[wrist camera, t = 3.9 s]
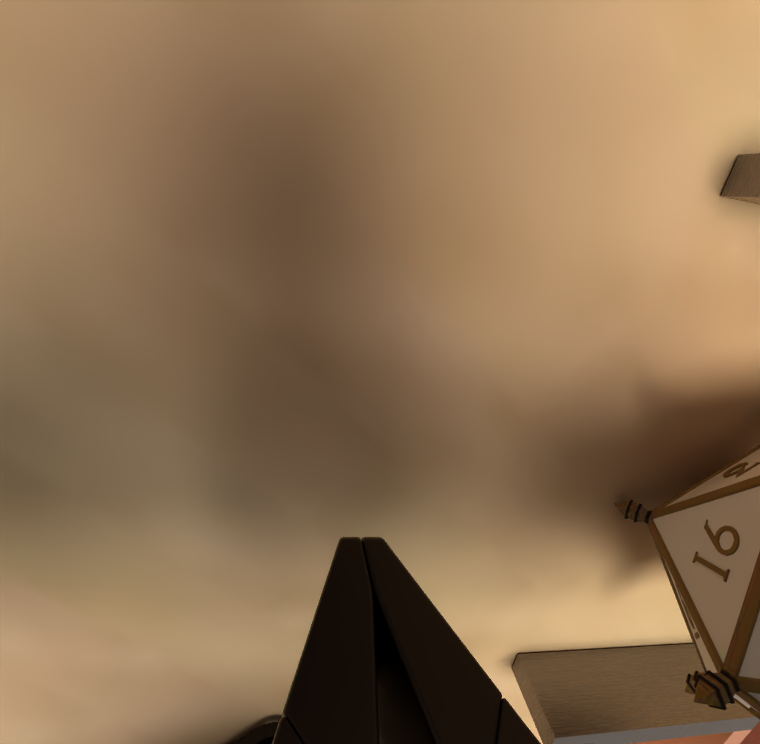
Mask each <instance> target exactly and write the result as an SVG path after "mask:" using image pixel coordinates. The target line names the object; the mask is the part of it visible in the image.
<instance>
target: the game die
mask: <svg viewBox="0 0 760 744" xmlns="http://www.w3.org/2000/svg"><path fill="white" fill-rule="evenodd" d="M614 504H615V505H616V506H617V507H618V509H619V510H620V511H621V512H622V513H623V515H624V516H625V519H627V518H630V519H633V520H634V522H637V521H642V522H646V523H647V524H648V526H649V528H650V531H651V534H652V536H653V539H654V542H655V544H656V547H657V549H658V552H659V555H660V557H661V560H662V562H663V565H664V568H665V570H666V573H667V576H668V578H669V581H670V583H671V586H672V589H673V591H674V594H675V597H676V599H677V602H678V604H679V607H680V610H681V612H682V615H683V617H684V620H685V623H686V625H687V628H688V631H689V633H690V636H691V638H692V641H693V644H694V646H695V649H696V651H697V654H698V657H699V659H700V662H701V665H702V667H703V670H704V672H701V673H699V672H698V671H695V672H694V674H693V675H691V674H688V675H687V679H686V683H687V686H686V689H685V693H689V694H694V695H695V698H694V702H695V703H701V704H707V705H709V707H712V708H716V709H721V710H726V709H727V708H726V704H727V703H731V704H734V703H735V702H737V703H738V704H739V705H741V706H742V707H743V708H745V709H746V710H747V711H749V712H750V713H751V714H753V715H754V716H755V717H757V718H758V719H759V720H760V445H759V446H757V447H756V448H754V449H753V450H751V451H749V452H748V453H746V454H744V455H743V456H741V457H739V458H738V459H736V460H735V461H733V462H731V463H730V464H728V465H726V466H725V467H723V468H722V469H720V470H718V471H717V472H715V473H713V474H712V475H710V476H709V477H707V478H705V479H704V480H702V481H700V482H699V483H697V484H695V485H694V486H692V487H691V488H689V489H687V490H686V491H684V492H682V493H681V494H679V495H678V496H676V497H674V498H673V499H671V500H669V501H668V502H666V503H665V504H663V505H661V506H660V507H658V508H656V509H655V510H653V511H648V510H646V509H645V508H643V507H642V504H639V505H638V504H636V503H633V500H630V501H628V502H620V503H614Z"/></svg>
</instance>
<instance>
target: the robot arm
mask: <svg viewBox="0 0 760 744" xmlns="http://www.w3.org/2000/svg"><path fill="white" fill-rule="evenodd" d="M234 744H541V743H540V742H539V741H538V740H537V738H536V737H535V736H534V735H533V733H532V732H531V731H530V730H529V728H528V727H527V726H526V725H525V723H524V722H523V721H522V719H521V718H520V717H519V716H518V714H517V713H516V712H515V710H514V709H513V708H512V706H511V705H510V704H509V702H508V701H507V700H506V699H505V698H503V699H502V694H501V692H500V691H499V690H498V688H497V687H496V686H495V684H494V683H493V682H492V680H491V679H490V678H489V677H488V675H487V674H486V673H485V671H484V670H483V669H482V667H481V666H480V665H479V663H478V662H477V661H476V660H475V658H474V657H473V656H472V654H471V653H470V652H469V650H468V649H467V648H466V646H465V645H464V644H463V642H462V641H461V640H460V639H459V637H458V636H457V635H456V633H455V632H454V631H453V629H452V628H451V627H450V625H449V624H448V623H447V622H446V620H445V619H444V618H443V616H442V615H441V614H440V612H439V611H438V610H437V608H436V607H435V606H434V605H433V603H432V602H431V601H430V599H429V598H428V597H427V595H426V594H425V593H424V591H423V590H422V589H421V588H420V586H419V585H418V584H417V582H416V581H415V580H414V578H413V577H412V576H411V574H410V573H409V572H408V571H407V569H406V568H405V567H404V565H403V564H402V563H401V561H400V560H399V559H398V557H397V556H396V555H395V553H394V552H393V551H392V550H391V548H390V547H389V546H388V544H387V543H386V542H385V540H384V539H382V538H381V537H364V538H362V539H360V538H359V537H342V538H340V540H339V542H338V545H337V548H336V551H335V554H334V557H333V560H332V563H331V567H330V570H329V573H328V576H327V579H326V582H325V585H324V588H323V591H322V594H321V597H320V600H319V603H318V606H317V609H316V612H315V615H314V618H313V621H312V624H311V627H310V630H309V633H308V637H307V640H306V643H305V646H304V649H303V652H302V655H301V658H300V661H299V664H298V667H297V670H296V673H295V676H294V679H293V682H292V685H291V688H290V691H289V694H288V697H287V700H286V703H285V706H284V710H283V713H282V718H281V719H280V721H279V722H272V723H268V724H265V725H263V726H261V727H260V728H258V729H257V730H255V731H253V732H252V733H250V734H249V735H247V736H245V737H244V738H242V739H240V740H239V741H237V742H236V743H234Z"/></svg>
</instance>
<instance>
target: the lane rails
mask: <svg viewBox="0 0 760 744" xmlns="http://www.w3.org/2000/svg"><path fill="white" fill-rule="evenodd" d="M721 196H723V197H728V198H733V199H737V200H742V201H747V202H751V203H756V204H760V154H744V155H739V156H738V158H737V161H736V163H735V165H734V167H733V170H732V172H731V174H730V177H729V179H728V181H727V183H726V186H725V188H724V190H723V192H722V195H721ZM512 670H513V673H514V675H515V678H516V680H517V682H518V685H519V687H520V689H521V692H522V694H523V697H524V699H525V701H526V704H527V706H528V709H529V711H530V713H531V716H532V718H533V721H534V723H535V725H536V728H537V730H538V733H539V735H540V737H541V740H542V742H543V744H630V743H639V742H647V741H656V740H665V739H674V738H682V737H691V736H700V735H709V734H717V733H726V732H735V731H744V730H752V729H753V728H754V727H755V726H756V725H757V723H758V722H759V721H760V720H759V719H758V718H757V717H755V716H754V715H753V714H751V713H750V712H749V711H747V710H746V709H745V708H743V707H742V706H741V705H739V704H738V703H737V702H735V703H734V704H731V703H727V704H726V708H727V709H726V710H721V709H716V708H712V707H709V705H707V704H701V703H695V702H694V698H695V695H694V694H689V693H685V689H686V686H687V683H686V679H687V675H688V674H691V675H693V674H694V672H695V671H698V672H699V673H701V672H704V670H703V667H702V665H701V662H700V659H699V657H698V654H697V651H696V649H695V646H694V644H680V645H663V646H646V647H629V648H612V649H595V650H578V651H561V652H544V653H527V654H518V655H517V657H516V660H515V662H514V664H513V666H512Z"/></svg>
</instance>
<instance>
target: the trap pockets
mask: <svg viewBox="0 0 760 744" xmlns="http://www.w3.org/2000/svg"><path fill="white" fill-rule="evenodd" d="M630 744H760V721H759V722H758V723H757V725H756V726H755V727H754V728H753V729H752V730H744V731H735V732H726V733H717V734H709V735H700V736H691V737H682V738H674V739H665V740H656V741H647V742H639V743H630Z"/></svg>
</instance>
